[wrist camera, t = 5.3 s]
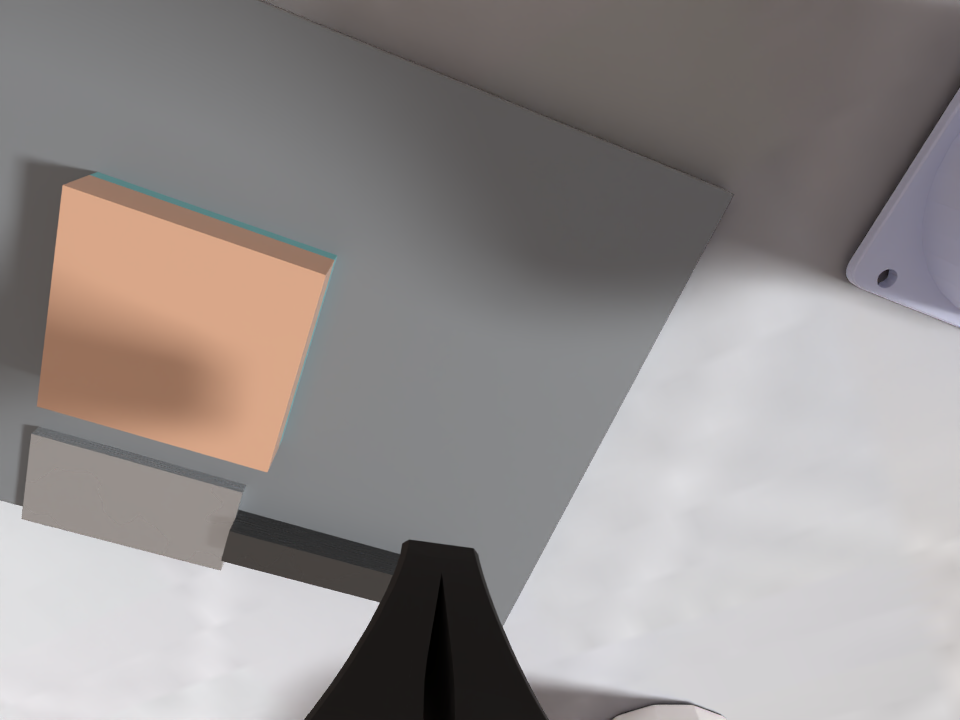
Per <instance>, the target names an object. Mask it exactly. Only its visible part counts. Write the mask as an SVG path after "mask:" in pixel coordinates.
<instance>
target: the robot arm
mask: <svg viewBox="0 0 960 720" xmlns="http://www.w3.org/2000/svg"><path fill="white" fill-rule="evenodd" d="M887 269H889V274H888V277H887V278H886V279H885V280H884V281H882V282H880V283H878V282H877V279H878V277H879V275H880V274H881V273H882V272H883V271H885V270H887ZM846 276H847V278H848V280H849V281H850V282H851V283H852V284H854V285H855V286H857V287H859V288H860V289H863V290H865V291H868V292H870V293H873V294H875V295H878V296H880V297H883V298H886V299H888V300H891V301H893V302H896V303H898V304H901V305H903V306H906V307H908V308H911V309H913V310H916V311H919V312H921V313H924V314H926V315H929V316H931V317H934V318H936V319H939V320H941V321H944V322H946V323H949V324H952V325H954V326H957V327H959V328H960V88H959V90H958V91H957V93H956V94H955V96H954V97H953V99H952V101H951V102H950V104H949V105H948V107H947V109H946V110H945V112H944V113H943V115H942V116H941V118H940V120H939V121H938V123H937V124H936V126H935V127H934V129H933V131H932V132H931V134H930V135H929V137H928V138H927V140H926V142H925V143H924V145H923V146H922V148H921V150H920V151H919V153H918V154H917V156H916V157H915V159H914V161H913V162H912V164H911V165H910V167H909V168H908V170H907V172H906V173H905V175H904V176H903V178H902V180H901V181H900V183H899V184H898V186H897V187H896V189H895V191H894V192H893V194H892V195H891V197H890V198H889V200H888V202H887V203H886V205H885V206H884V208H883V209H882V211H881V213H880V214H879V216H878V217H877V219H876V221H875V222H874V224H873V225H872V227H871V228H870V230H869V232H868V233H867V235H866V236H865V238H864V239H863V241H862V243H861V244H860V246H859V247H858V249H857V251H856V252H855V254H854V255H853V257H852V258H851V260H850V262H849V264H848V266H847V268H846ZM304 720H549V719H548V718H547V716H546V714H545V713H544V711H543V709H542V707H541V706H540V704H539V702H538V700H537V698H536V696H535V695H534V693H533V691H532V689H531V687H530V685H529V683H528V681H527V679H526V677H525V675H524V673H523V671H522V669H521V667H520V665H519V663H518V661H517V659H516V656H515V654H514V652H513V650H512V648H511V645H510V643H509V641H508V638H507V636H506V634H505V631H504V629H503V627H502V624H501V622H500V620H499V617H498V614H497V612H496V609H495V607H494V604H493V601H492V598H491V596H490V593H489V590H488V587H487V584H486V581H485V578H484V574H483V571H482V567H481V564H480V560H479V555H478V553H477V552H476V551H475V549H474V548H469V547H461V546H454V545H447V544H439V543H432V542H425V541H417V540H410V539H409V540H407V541H405V542H404V543H402V547H401V553H400V556H399V559H398V563H397V566H396V568H395V571H394V574H393V576H392V578H391V581H390V583H389V585H388V588H387V590H386V592H385V594H384V596H383V598H382V600H381V602H380V604H379V606H378V608H377V610H376V612H375V613H374V615H373V617H372V619H371V621H370V623H369V625H368V626H367V628H366V630H365V632H364V633H363V635H362V636H361V638H360V640H359V641H358V643H357V645H356V646H355V648H354V650H353V651H352V653H351V654H350V656H349V658H348V659H347V661H346V662H345V664H344V666H343V667H342V668H341V670H340V671H339V673H338V674H337V676H336V677H335V679H334V680H333V682H332V683H331V685H330V686H329V687H328V689H327V690H326V691H325V693H324V694H323V696H322V697H321V698H320V700H319V701H318V702H317V704H316V705H315V706H314V708H313V709H312V710H311V712H310V713H309V714H308V715H307V717H306V718H305V719H304Z"/></svg>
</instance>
